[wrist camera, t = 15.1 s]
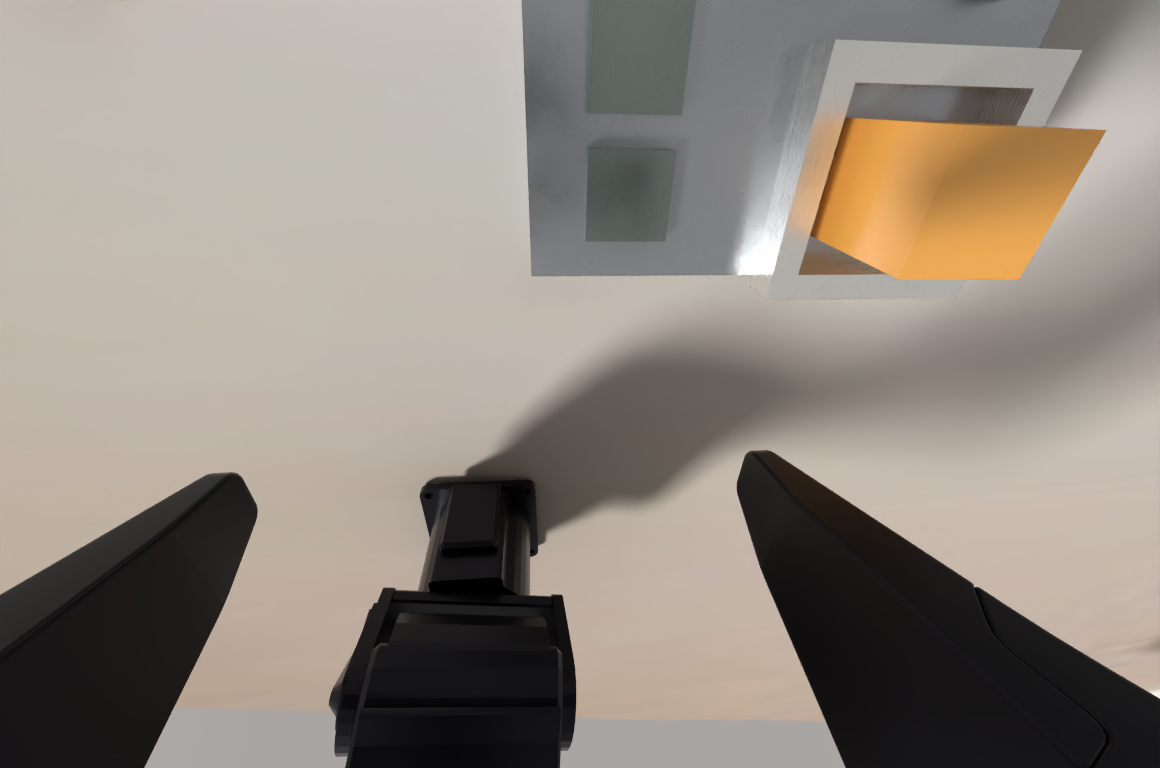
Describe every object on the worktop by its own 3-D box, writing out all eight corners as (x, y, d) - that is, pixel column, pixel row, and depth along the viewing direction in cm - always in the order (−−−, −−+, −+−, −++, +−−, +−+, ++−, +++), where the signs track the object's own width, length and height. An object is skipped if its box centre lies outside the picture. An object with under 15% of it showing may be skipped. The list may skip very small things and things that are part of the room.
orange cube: (904, 236, 18) (1018, 279, 14) (810, 236, 17) (898, 279, 13) (953, 121, 16) (1106, 130, 11) (846, 117, 15) (965, 125, 11)
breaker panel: (898, 269, 21) (968, 302, 17) (532, 272, 19) (532, 308, 16) (1129, -282, 12) (1352, -423, 9) (510, -355, 11) (500, -558, 7)
